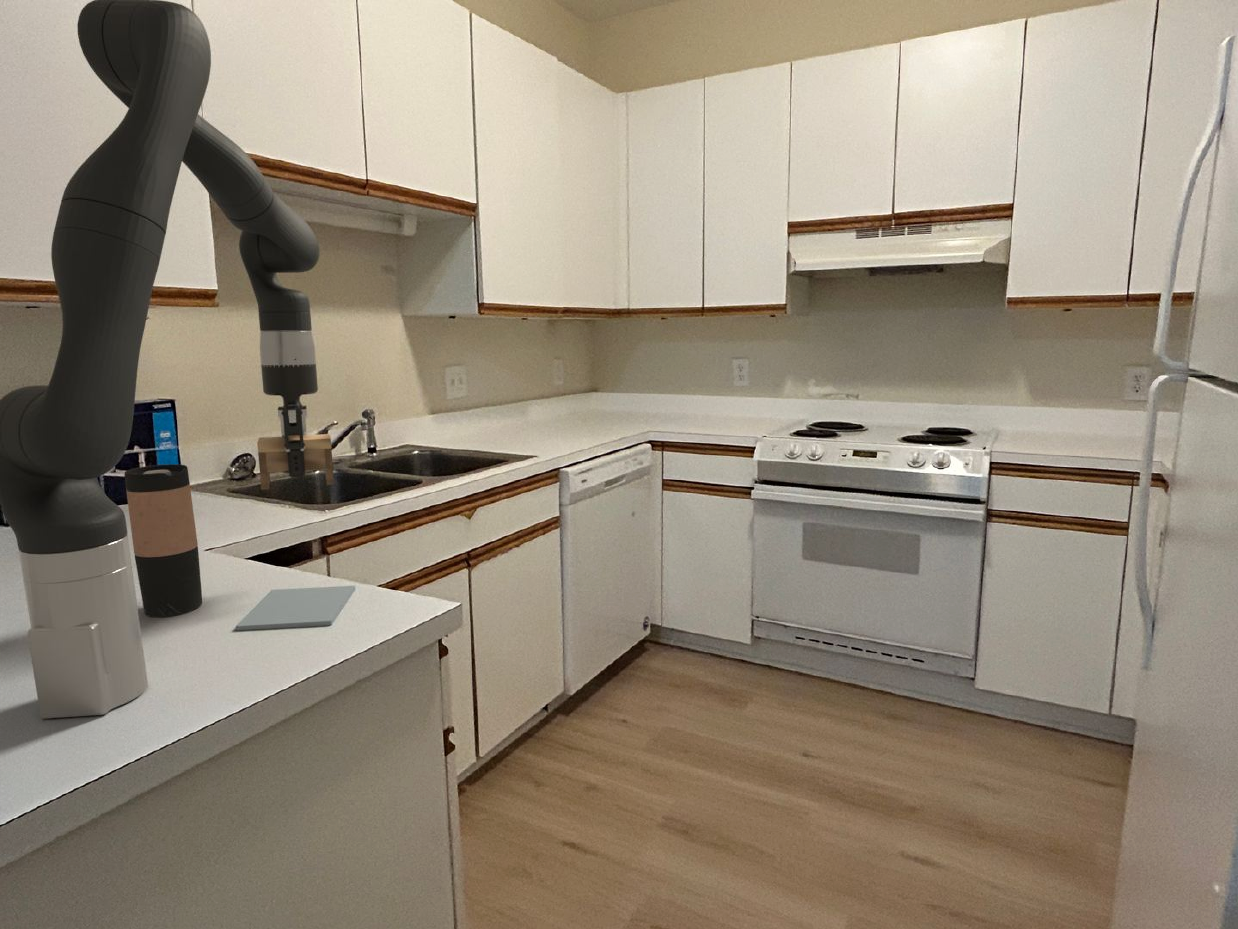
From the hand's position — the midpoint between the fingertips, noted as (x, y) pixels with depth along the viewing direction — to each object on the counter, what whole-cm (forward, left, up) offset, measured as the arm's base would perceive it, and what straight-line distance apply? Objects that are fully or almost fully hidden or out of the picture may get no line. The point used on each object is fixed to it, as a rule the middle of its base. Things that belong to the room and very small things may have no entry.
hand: (297, 473), depth 116 cm
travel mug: (-10, +15, -17) cm, 25 cm away
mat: (-13, -3, -17) cm, 21 cm away
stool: (0, 0, -2) cm, 2 cm away
